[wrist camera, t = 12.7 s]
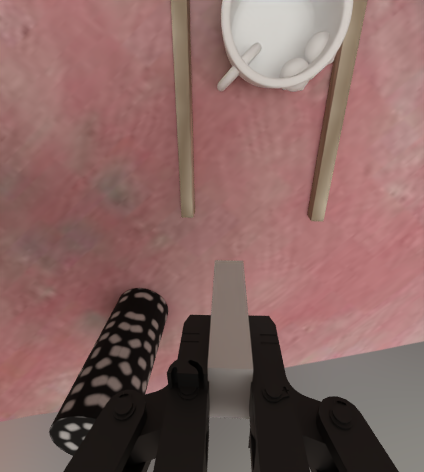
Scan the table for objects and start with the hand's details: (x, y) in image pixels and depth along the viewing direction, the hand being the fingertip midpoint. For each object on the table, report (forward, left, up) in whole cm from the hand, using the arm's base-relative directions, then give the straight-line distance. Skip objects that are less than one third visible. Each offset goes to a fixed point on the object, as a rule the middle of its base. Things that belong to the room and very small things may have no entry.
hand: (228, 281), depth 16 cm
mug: (+3, +13, -23) cm, 27 cm away
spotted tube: (-14, -23, -23) cm, 35 cm away
